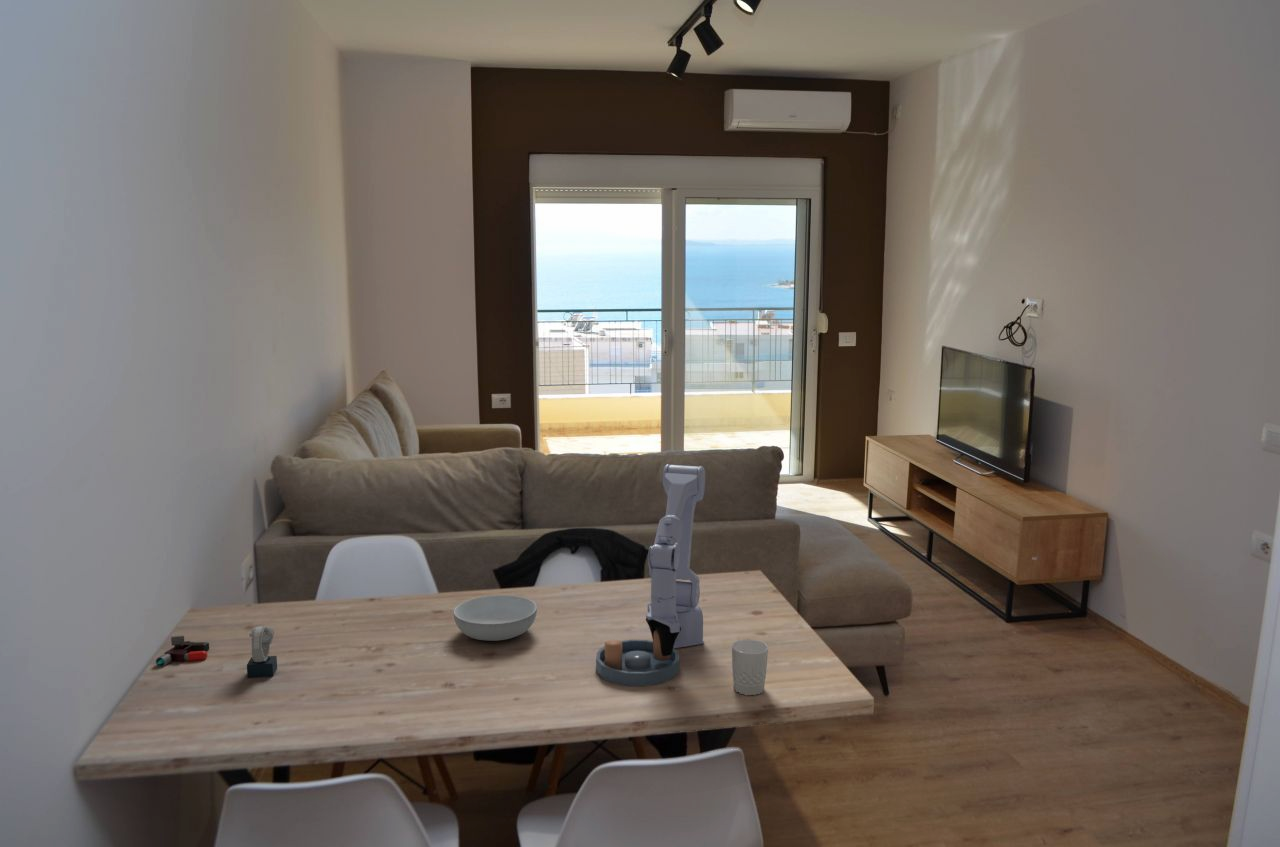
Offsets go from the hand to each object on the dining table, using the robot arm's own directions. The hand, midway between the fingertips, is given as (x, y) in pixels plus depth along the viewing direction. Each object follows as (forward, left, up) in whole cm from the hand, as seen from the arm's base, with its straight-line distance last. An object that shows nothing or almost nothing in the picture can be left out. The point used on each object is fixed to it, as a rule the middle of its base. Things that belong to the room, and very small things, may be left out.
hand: (662, 651), depth 221 cm
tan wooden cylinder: (+11, -2, -3) cm, 12 cm away
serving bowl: (+31, -34, -4) cm, 47 cm away
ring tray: (+5, -2, -4) cm, 7 cm away
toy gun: (+103, -45, -5) cm, 113 cm away
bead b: (0, 0, -1) cm, 1 cm away
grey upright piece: (+86, -30, -4) cm, 92 cm away
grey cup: (-14, +17, -4) cm, 22 cm away
